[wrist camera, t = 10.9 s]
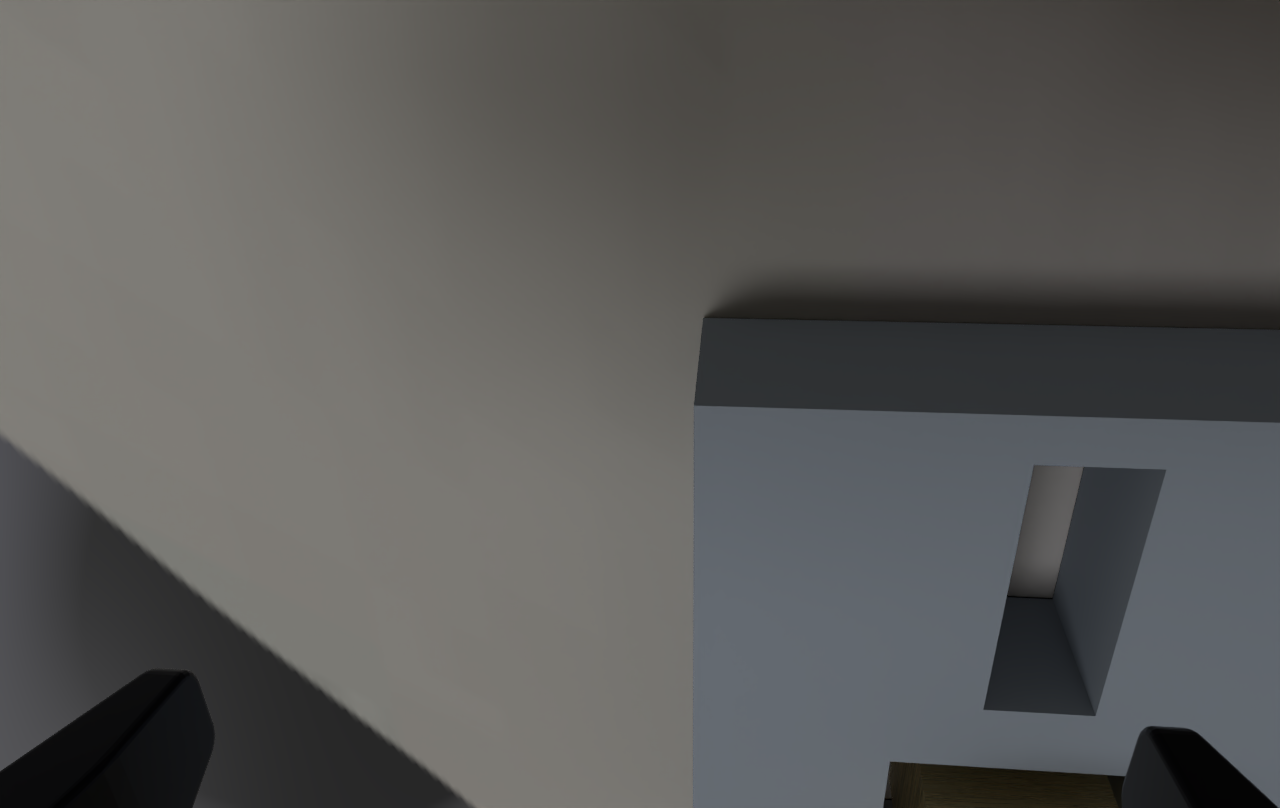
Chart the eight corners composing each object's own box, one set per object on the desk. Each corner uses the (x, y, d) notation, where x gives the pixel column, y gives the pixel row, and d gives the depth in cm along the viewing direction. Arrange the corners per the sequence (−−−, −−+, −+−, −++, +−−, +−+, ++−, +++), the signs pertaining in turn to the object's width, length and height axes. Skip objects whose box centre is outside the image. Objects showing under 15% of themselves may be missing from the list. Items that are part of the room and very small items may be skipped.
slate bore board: (1440, 332, 19) (1565, 431, 16) (1218, 864, 28) (1274, 994, 25) (703, 317, 21) (693, 405, 18) (699, 827, 29) (692, 946, 26)
